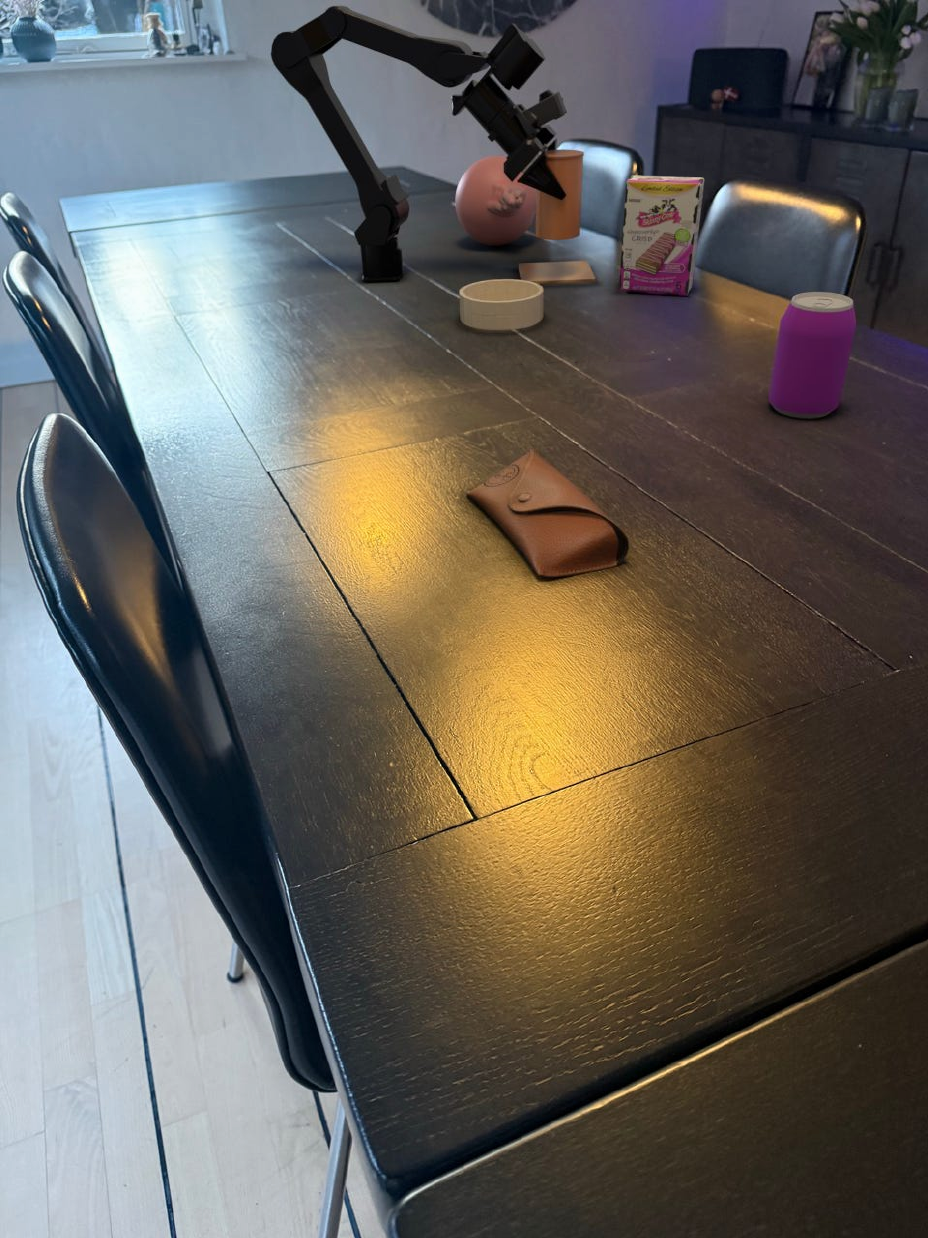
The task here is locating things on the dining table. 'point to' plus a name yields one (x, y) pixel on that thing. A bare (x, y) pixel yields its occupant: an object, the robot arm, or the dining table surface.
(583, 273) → the plate
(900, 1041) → the dining table surface
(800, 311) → the beverage can
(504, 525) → the sunglasses case
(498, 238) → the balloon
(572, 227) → the orange lidded canister
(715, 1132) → the dining table surface
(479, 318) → the cream round container
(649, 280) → the candy bar box
